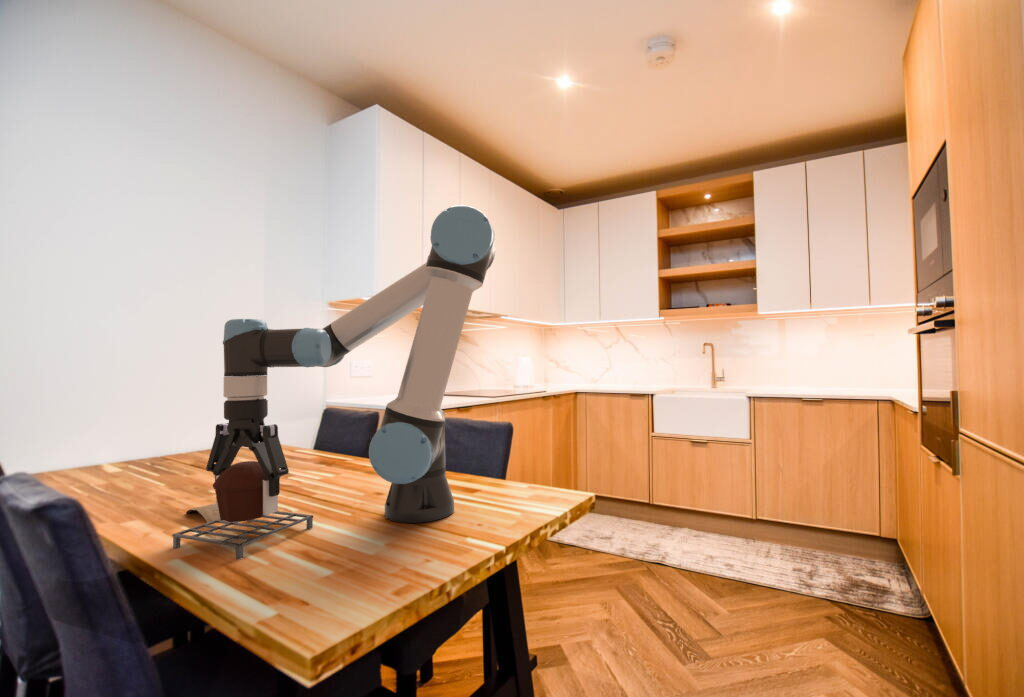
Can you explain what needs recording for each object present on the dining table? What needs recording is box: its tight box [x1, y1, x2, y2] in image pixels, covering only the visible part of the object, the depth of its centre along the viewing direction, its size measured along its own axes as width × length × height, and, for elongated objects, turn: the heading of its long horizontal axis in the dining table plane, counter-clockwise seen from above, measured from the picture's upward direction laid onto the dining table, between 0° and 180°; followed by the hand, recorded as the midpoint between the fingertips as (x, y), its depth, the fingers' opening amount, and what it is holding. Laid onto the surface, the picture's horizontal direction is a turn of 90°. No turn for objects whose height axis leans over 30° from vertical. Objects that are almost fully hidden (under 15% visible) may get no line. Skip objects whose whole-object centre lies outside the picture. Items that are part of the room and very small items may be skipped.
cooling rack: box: [171, 510, 314, 560], centre depth 94 cm, size 17×17×2 cm
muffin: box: [212, 460, 273, 522], centre depth 94 cm, size 12×11×10 cm
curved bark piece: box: [185, 503, 220, 523], centre depth 110 cm, size 14×10×3 cm
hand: (246, 510), depth 94 cm, fingers closed on muffin, 12 cm apart
